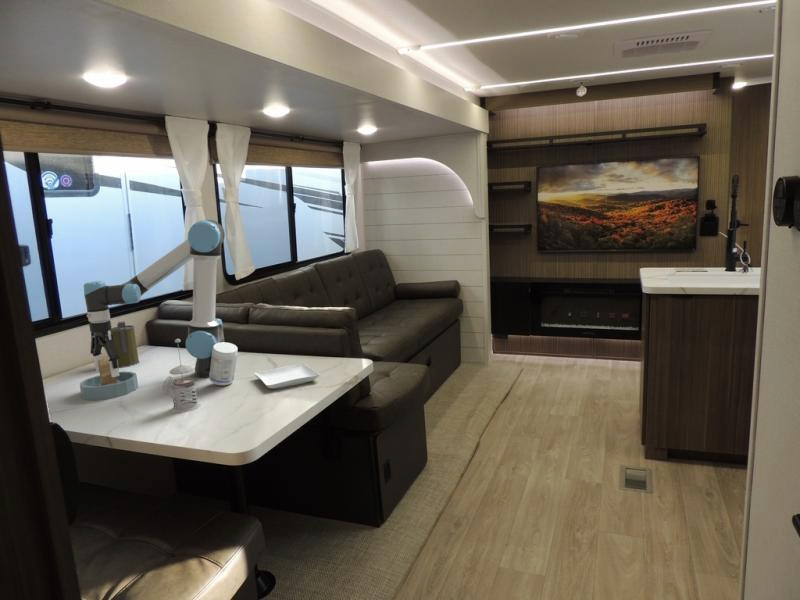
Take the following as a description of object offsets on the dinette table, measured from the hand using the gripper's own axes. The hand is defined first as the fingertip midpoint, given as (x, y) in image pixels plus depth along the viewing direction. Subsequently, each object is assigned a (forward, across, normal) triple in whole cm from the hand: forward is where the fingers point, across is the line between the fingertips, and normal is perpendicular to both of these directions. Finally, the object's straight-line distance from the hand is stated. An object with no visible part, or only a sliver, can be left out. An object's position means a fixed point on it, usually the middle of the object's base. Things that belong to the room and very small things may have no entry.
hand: (107, 373), depth 229 cm
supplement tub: (+6, +33, +29) cm, 44 cm away
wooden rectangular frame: (+6, 0, 0) cm, 6 cm away
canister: (+7, -36, +24) cm, 44 cm away
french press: (+7, +46, +5) cm, 47 cm away
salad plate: (+8, +54, +45) cm, 71 cm away
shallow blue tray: (+7, 0, 0) cm, 7 cm away
